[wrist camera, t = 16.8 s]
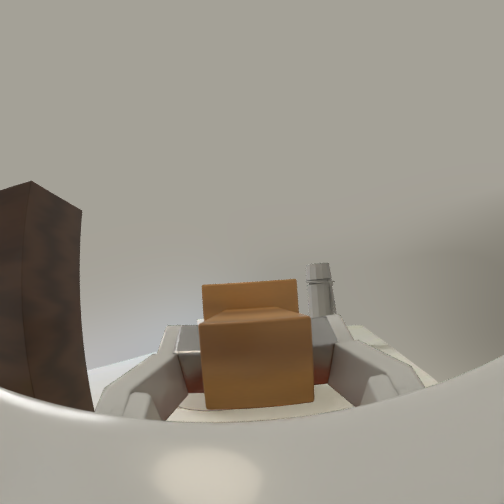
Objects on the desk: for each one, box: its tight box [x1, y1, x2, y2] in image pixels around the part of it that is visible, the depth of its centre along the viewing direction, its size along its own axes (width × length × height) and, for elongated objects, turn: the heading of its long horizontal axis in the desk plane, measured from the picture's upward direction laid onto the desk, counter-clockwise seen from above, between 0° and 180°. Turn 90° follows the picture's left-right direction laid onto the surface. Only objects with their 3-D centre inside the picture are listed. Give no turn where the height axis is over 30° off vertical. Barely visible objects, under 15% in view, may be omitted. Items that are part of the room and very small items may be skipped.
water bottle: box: [306, 263, 337, 318], centre depth 77 cm, size 9×8×25 cm
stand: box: [0, 181, 94, 412], centre depth 17 cm, size 8×7×26 cm
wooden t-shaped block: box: [198, 279, 314, 410], centre depth 15 cm, size 15×6×4 cm, turn 1°
